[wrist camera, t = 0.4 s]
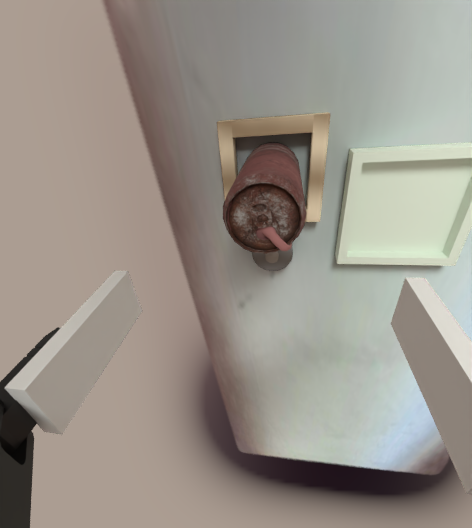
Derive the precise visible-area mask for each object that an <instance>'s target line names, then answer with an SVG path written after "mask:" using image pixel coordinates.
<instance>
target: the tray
mask: <svg viewBox="0 0 472 528" xmlns="http://www.w3.org/2000/svg"><path fill="white" fill-rule="evenodd" d="M471 227H472V142H468V143H449V144H430V145H412V146H393V147H374V148H356V149H350V150H349V157H348V164H347V171H346V179H345V186H344V193H343V200H342V207H341V215H340V222H339V229H338V236H337V243H336V251H335V258H336V261H337V264H381V265H439V266H455V265H456V262H457V260H458V258H459V255H460V253H461V251H462V248H463V246H464V244H465V241H466V239H467V237H468V234H469V232H470V230H471Z"/></svg>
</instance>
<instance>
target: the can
mask: <svg viewBox="0 0 472 528" xmlns="http://www.w3.org/2000/svg"><path fill="white" fill-rule="evenodd" d="M306 214H307V213H306V207H305V200H304V194H303V188H302V182H301V176H300V169H299V163H298V160H297V158H296V156H295V154H294V152H293V151H291V150H290V149H289V148H288V147H287V146H285V145H282V144H280V143H266V144H263V145H260V146H259V147H257V148H256V149H254V150H253V151H252V153H251V154H250V155H249V156H248V158H247V160H246V161H245V163H244V165H243V167H242V169H241V170H240V172H239V174H238V176H237V178H236V179H235V181H234V183H233V185H232V187H231V188H230V190H229V192H228V194H227V196H226V199H225V202H224V205H223V219H224V222H225V226H226V229H227V230H228V232H229V234H230V235H231V237H232V238H233V240H234V241H235V242H236V243H237V244H239V245H240V246H241V247H242V248H244V249H246V250H249V251H251V252H254V253H263V254H267V253H273V252H277V251H279V250H281V251H288V250H290V249H291V247H292V242H293V241H294V240H295V239H296V238H297V237H298V236H299V234H300V232H301V231H302V229H303V227H304V224H305V219H306Z"/></svg>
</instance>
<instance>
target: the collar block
mask: <svg viewBox="0 0 472 528" xmlns="http://www.w3.org/2000/svg"><path fill="white" fill-rule="evenodd" d="M329 123H330V113H328V112H327V113H314V114H301V115H288V116H275V117H262V118H249V119H236V120H223V121H218V122H217V130H218V139H219V149H220V158H221V168H222V177H223V187H224V196H225V199H226V196H227V194H228V192H229V190H230V188H231V187H232V185H233V183H234V181H235V179H236V178H237V176H238V169H237V155H236V142H235V137H249V136H264V135H280V134H295V133H310V132H311V144H310V160H309V175H308V191H307V205H305V207H306V213H307V214H306V219H305V222H320V216H321V206H322V195H323V185H324V174H325V164H326V154H327V143H328V133H329ZM292 255H293V254H292V247H291V249H290V250H288V251H281V250H279V251H277V252H273V253H267V254H263V253H254V252H252V256H253V259H254V261H255V263H256V264H257V265H258V266H259V267H261V268H263V269H265V270H269V271H276V270H280V269H283V268H285V267H286V266H287V265H288V264H289V263H290V261H291V259H292Z"/></svg>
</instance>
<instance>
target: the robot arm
mask: <svg viewBox="0 0 472 528" xmlns="http://www.w3.org/2000/svg"><path fill="white" fill-rule="evenodd" d="M141 312H142V309H141V306H140V303H139V300H138V298H137V295H136V292H135V289H134V286H133V283H132V281H131V278H130V275H129V272H128V271H114V272H113V273H112V274H111V275H110V276H109V277H108V279H107V280H106V281H105V282H104V283H103V284H102V285H101V286H100V287H99V288H98V289H97V290H96V291H95V292H94V293H93V294H92V295H91V297H90V298H89V299H88V300H87V301H86V302H85V303H84V304H83V305H82V306H81V307H80V308H79V309H78V310H77V311H76V312H75V313H74V315H73V316H72V317H71V318H70V319H69V320H68V321H67V322H66V323H65V324H64V325H63V326H62V327H61V328H56V329H55V330H54V331H52V332H50V333H49V334H48V335H46V336H45V337H44V338H43V339H42V340H41V341H40V342H39V343H38V344H37V345H36V346H35V348H33V349H32V350H31V351H30V352H29V353H28V354H27V357H24V358H23V360H21V361H20V362H19V363H18V364H17V366H15V368H14V369H13V370H12V371H11V372H10V373H9V374H8V375H7V376H6V377H5V378H4V379H3V380H2V381H1V382H0V528H30V510H31V491H32V489H31V488H32V469H33V468H32V467H33V449H34V436H33V433H32V432H31V430H32V429H33V427H34V426H35V425H36V424H38V425H39V426H40V428H41V429H42V430H43V431H44V432H50V433H56V434H63V432H64V431H65V429H66V428H67V426H68V425H69V423H70V421H71V420H72V419H73V417H74V415H75V414H76V412H77V411H78V409H79V408H80V406H81V405H82V403H83V402H84V400H85V398H86V397H87V395H88V394H89V392H90V391H91V389H92V388H93V386H94V385H95V383H96V382H97V380H98V379H99V377H100V375H101V374H102V372H103V371H104V369H105V368H106V366H107V365H108V363H109V362H110V360H111V358H112V357H113V355H114V354H115V352H116V351H117V349H118V348H119V346H120V344H121V343H122V342H123V340H124V338H125V337H126V335H127V334H128V332H129V331H130V329H131V327H132V326H133V324H134V323H135V321H136V320H137V318H138V317H139V315H140V314H141ZM391 325H392V327H393V330H394V332H395V334H396V336H397V339H398V341H399V343H400V345H401V348H402V350H403V352H404V354H405V357H406V359H407V361H408V363H409V365H410V368H411V370H412V372H413V374H414V377H415V379H416V381H417V383H418V386H419V388H420V390H421V392H422V395H423V397H424V399H425V401H426V404H427V406H428V408H429V410H430V413H431V415H432V417H433V419H434V422H435V424H436V426H437V428H438V431H439V433H440V435H441V437H442V440H443V442H444V444H445V446H446V449H447V451H448V453H449V455H450V458H451V460H452V462H453V464H454V467H455V469H456V471H457V473H458V476H459V478H460V480H461V482H462V484H463V487H464V489H465V491H466V493H467V494H472V341H471V340H470V339H469V337H468V336H467V335H466V333H465V332H464V330H463V329H462V328H461V326H460V325H459V324H458V322H457V321H456V320H455V318H454V317H453V315H452V314H451V313H450V311H449V310H448V309H447V307H446V306H445V305H444V303H443V302H442V300H441V299H440V298H439V296H438V295H437V294H436V292H435V291H434V290H433V288H432V287H431V286H430V284H429V283H428V281H427V280H426V279H425V278H405V281H404V284H403V287H402V290H401V293H400V296H399V300H398V303H397V306H396V309H395V312H394V315H393V318H392V322H391Z"/></svg>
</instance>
